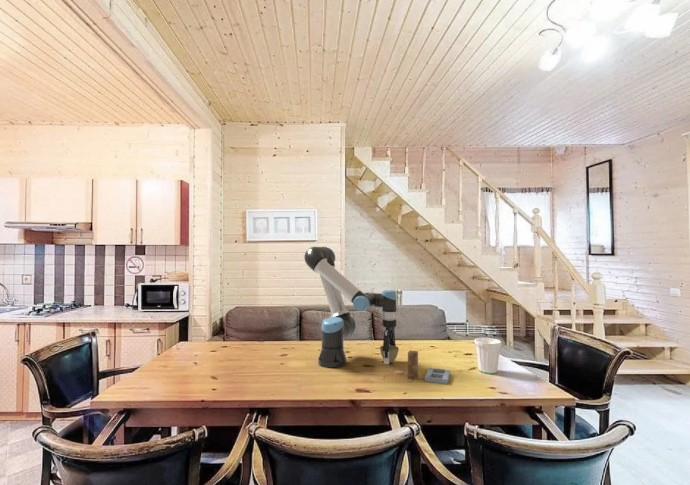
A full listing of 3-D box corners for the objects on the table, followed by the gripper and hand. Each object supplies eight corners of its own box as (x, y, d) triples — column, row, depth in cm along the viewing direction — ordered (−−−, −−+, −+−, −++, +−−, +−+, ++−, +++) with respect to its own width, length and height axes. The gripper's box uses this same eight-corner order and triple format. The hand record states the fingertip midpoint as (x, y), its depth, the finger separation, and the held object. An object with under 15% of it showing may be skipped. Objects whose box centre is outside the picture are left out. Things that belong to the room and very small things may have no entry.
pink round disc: (392, 373, 175) (392, 373, 175) (394, 370, 180) (394, 369, 180) (402, 374, 173) (402, 374, 173) (404, 371, 178) (404, 371, 178)
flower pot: (398, 364, 186) (398, 350, 186) (378, 363, 188) (378, 349, 188) (399, 358, 195) (399, 345, 195) (380, 357, 197) (380, 344, 197)
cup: (481, 365, 187) (481, 336, 188) (505, 371, 178) (505, 340, 179) (470, 371, 179) (470, 340, 179) (495, 377, 170) (494, 345, 170)
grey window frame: (424, 381, 165) (424, 376, 165) (429, 371, 178) (429, 367, 178) (447, 384, 161) (447, 379, 161) (450, 374, 174) (450, 370, 174)
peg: (407, 378, 168) (407, 352, 169) (409, 375, 172) (409, 350, 173) (416, 379, 167) (416, 353, 167) (417, 376, 171) (417, 351, 171)
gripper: (390, 323, 180) (390, 368, 180) (401, 316, 201) (400, 356, 200) (376, 322, 183) (376, 366, 182) (388, 315, 204) (387, 354, 203)
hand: (389, 360), depth 191 cm, fingers closed on flower pot, 10 cm apart
